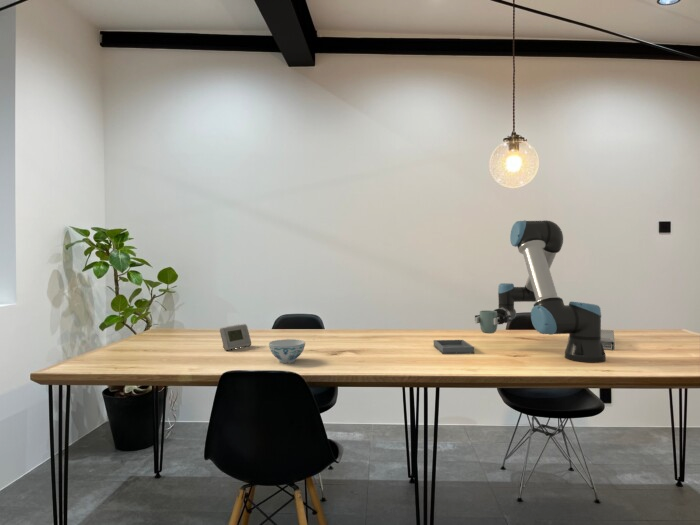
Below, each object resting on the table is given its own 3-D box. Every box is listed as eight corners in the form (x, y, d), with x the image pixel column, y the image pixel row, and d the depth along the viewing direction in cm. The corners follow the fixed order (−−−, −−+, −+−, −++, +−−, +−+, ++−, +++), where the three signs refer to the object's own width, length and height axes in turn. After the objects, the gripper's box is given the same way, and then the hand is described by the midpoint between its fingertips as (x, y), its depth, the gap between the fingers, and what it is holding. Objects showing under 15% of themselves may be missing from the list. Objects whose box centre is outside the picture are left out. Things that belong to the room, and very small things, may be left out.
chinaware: (265, 358, 200) (265, 340, 200) (300, 355, 205) (300, 338, 205) (272, 366, 186) (272, 347, 186) (309, 363, 191) (309, 344, 191)
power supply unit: (568, 348, 219) (568, 337, 219) (572, 337, 248) (572, 327, 248) (614, 352, 210) (614, 340, 210) (613, 340, 239) (613, 330, 239)
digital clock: (224, 351, 216) (224, 328, 215) (215, 349, 222) (215, 326, 222) (255, 346, 227) (255, 324, 226) (245, 344, 233) (245, 323, 233)
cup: (493, 334, 212) (493, 312, 212) (477, 333, 217) (477, 311, 217) (500, 332, 218) (499, 311, 218) (483, 331, 223) (483, 310, 223)
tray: (474, 353, 207) (474, 347, 207) (442, 354, 206) (442, 347, 206) (462, 345, 225) (462, 339, 225) (433, 346, 224) (433, 340, 224)
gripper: (522, 325, 226) (508, 330, 208) (480, 322, 238) (463, 327, 219) (521, 309, 226) (508, 313, 208) (479, 307, 238) (463, 311, 219)
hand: (485, 321), depth 214 cm, fingers closed on cup, 8 cm apart
